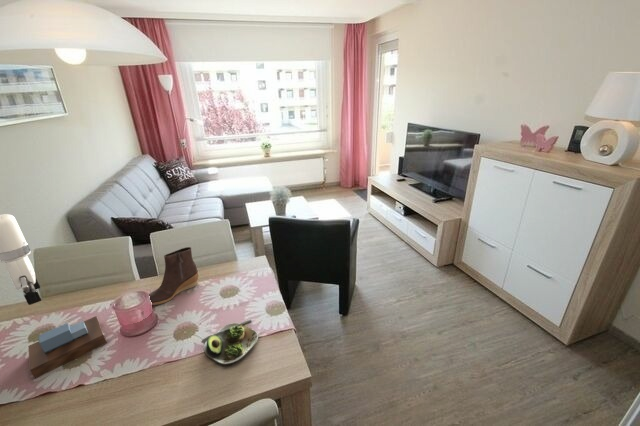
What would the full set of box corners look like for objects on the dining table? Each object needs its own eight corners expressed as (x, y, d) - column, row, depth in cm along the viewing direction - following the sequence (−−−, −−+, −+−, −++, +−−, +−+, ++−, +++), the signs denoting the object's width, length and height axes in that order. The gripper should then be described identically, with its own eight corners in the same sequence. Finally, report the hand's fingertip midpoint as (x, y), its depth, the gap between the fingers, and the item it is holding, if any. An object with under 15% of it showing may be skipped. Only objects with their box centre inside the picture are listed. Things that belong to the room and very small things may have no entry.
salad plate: (237, 315, 117) (235, 306, 115) (270, 333, 108) (269, 323, 106) (195, 350, 102) (192, 340, 101) (229, 373, 93) (227, 363, 91)
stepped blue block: (45, 354, 99) (39, 343, 97) (44, 346, 102) (38, 335, 100) (88, 334, 106) (83, 323, 104) (86, 327, 110) (81, 316, 108)
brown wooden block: (34, 378, 95) (29, 370, 93) (33, 354, 104) (28, 345, 103) (107, 342, 107) (103, 334, 106) (99, 323, 117) (96, 315, 115)
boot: (142, 302, 128) (128, 263, 120) (196, 277, 143) (187, 241, 135) (148, 311, 122) (134, 271, 114) (204, 285, 137) (195, 248, 129)
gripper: (-2, 247, 97) (20, 289, 103) (-6, 267, 85) (19, 313, 92) (28, 239, 102) (47, 280, 108) (29, 257, 90) (50, 302, 96)
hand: (34, 295), depth 100 cm, fingers open, 9 cm apart
